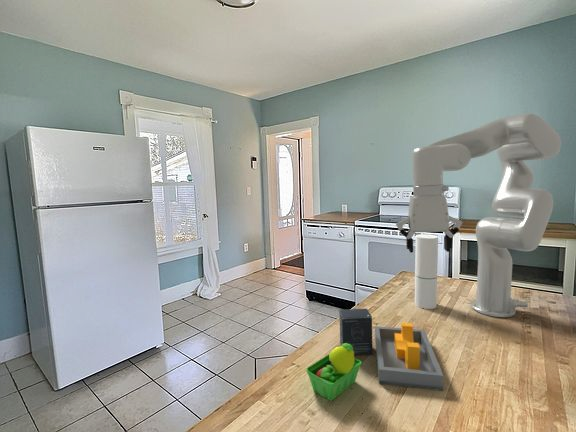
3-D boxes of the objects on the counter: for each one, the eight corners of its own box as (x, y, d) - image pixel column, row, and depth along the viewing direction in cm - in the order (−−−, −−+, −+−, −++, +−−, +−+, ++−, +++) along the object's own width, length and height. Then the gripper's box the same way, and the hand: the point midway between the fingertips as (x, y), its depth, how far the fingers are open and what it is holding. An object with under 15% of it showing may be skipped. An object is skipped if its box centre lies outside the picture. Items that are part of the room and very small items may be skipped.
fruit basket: (336, 367, 77) (335, 324, 75) (367, 384, 70) (367, 337, 69) (305, 390, 69) (303, 343, 67) (336, 411, 62) (335, 359, 61)
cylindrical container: (437, 303, 112) (439, 235, 108) (435, 310, 106) (436, 239, 102) (416, 299, 115) (417, 233, 112) (412, 306, 109) (413, 237, 106)
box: (367, 343, 87) (367, 307, 85) (372, 355, 81) (372, 317, 80) (339, 344, 87) (339, 308, 86) (343, 356, 81) (342, 318, 80)
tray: (424, 341, 87) (424, 329, 86) (442, 390, 67) (443, 375, 67) (374, 337, 90) (374, 326, 89) (378, 383, 70) (378, 369, 70)
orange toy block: (394, 344, 84) (394, 321, 84) (411, 345, 83) (411, 323, 83) (399, 371, 73) (400, 345, 72) (419, 373, 72) (419, 347, 71)
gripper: (457, 188, 88) (457, 246, 90) (393, 192, 91) (395, 248, 94) (466, 190, 80) (466, 254, 83) (397, 194, 84) (398, 255, 87)
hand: (428, 250), depth 88 cm, fingers open, 9 cm apart
